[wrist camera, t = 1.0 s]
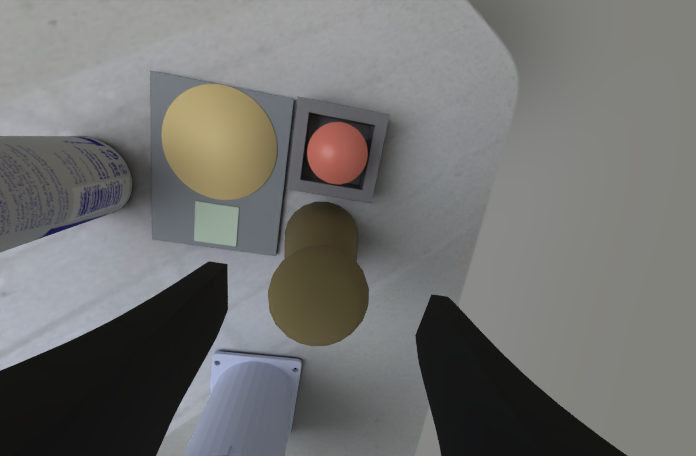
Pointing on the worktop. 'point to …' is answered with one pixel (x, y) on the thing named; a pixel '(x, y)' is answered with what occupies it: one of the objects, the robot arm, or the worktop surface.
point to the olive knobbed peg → (319, 277)
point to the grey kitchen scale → (217, 164)
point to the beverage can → (57, 185)
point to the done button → (337, 153)
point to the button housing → (314, 117)
